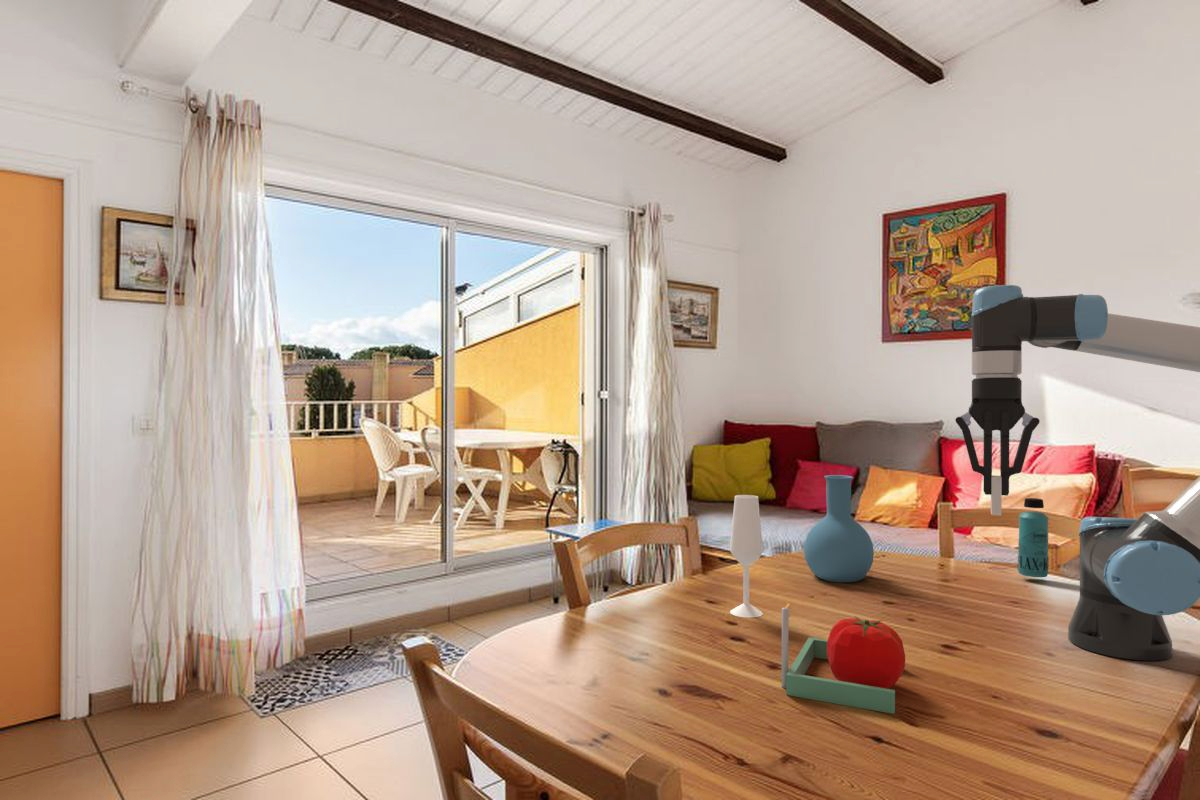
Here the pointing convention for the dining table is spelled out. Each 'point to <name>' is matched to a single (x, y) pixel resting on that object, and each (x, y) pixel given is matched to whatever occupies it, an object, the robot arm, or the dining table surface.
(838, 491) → the vase
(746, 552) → the champagne flute
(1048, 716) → the dining table surface
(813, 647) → the green u-shaped frame
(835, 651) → the tomato
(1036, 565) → the beverage bottle
